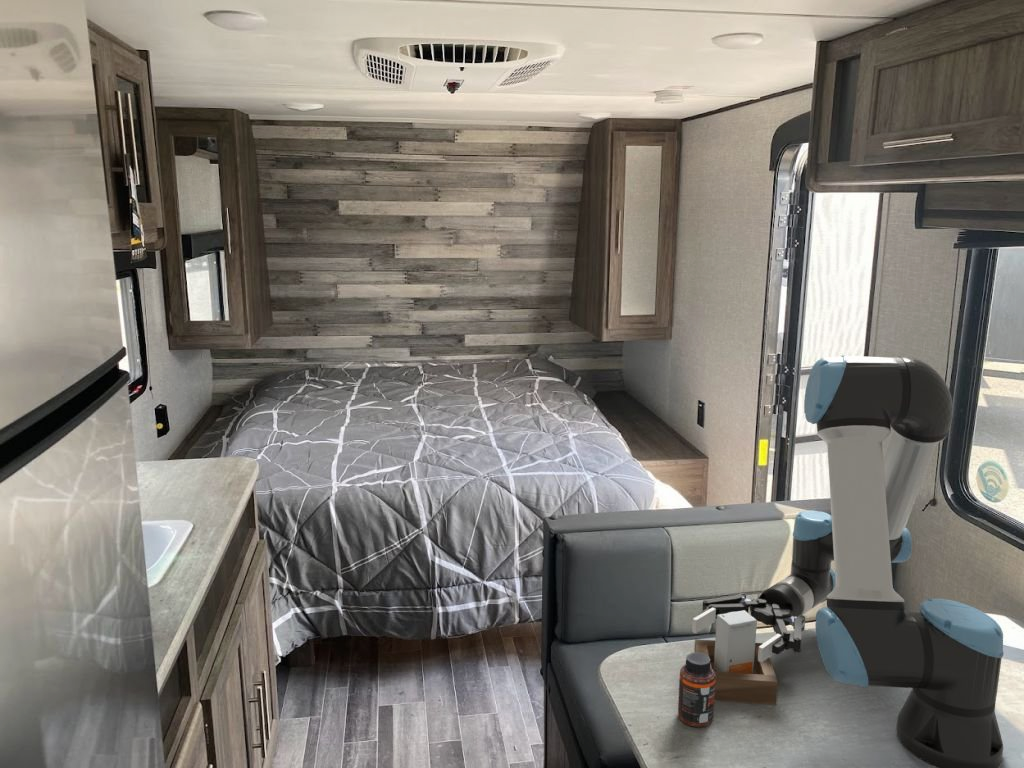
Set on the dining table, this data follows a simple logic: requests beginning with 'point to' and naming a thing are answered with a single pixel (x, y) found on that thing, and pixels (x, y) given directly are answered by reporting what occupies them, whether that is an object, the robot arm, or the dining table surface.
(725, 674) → the walnut tray
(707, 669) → the supplement bottle
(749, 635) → the skincare box
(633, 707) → the dining table surface
